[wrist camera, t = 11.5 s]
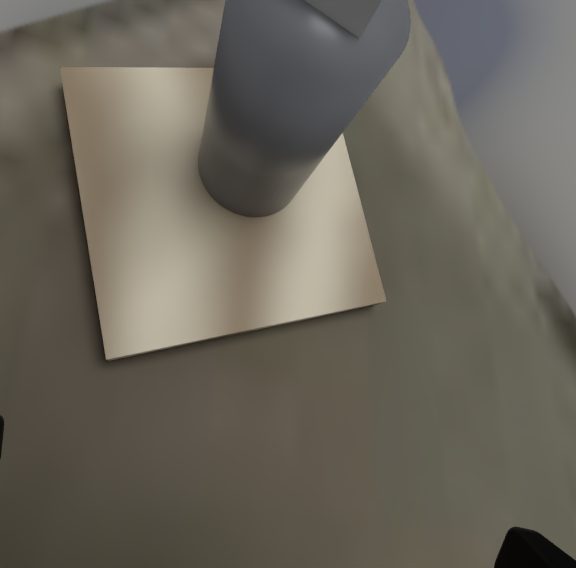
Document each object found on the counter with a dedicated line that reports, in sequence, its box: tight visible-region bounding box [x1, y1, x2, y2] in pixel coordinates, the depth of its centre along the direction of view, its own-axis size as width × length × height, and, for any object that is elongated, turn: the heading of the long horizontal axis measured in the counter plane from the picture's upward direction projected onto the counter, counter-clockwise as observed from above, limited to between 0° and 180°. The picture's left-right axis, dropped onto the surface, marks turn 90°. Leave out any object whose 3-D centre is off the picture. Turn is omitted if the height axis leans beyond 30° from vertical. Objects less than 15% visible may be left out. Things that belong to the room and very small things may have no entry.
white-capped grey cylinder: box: [198, 0, 411, 217], centre depth 14 cm, size 5×5×10 cm
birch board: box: [60, 67, 386, 361], centre depth 18 cm, size 12×12×1 cm
